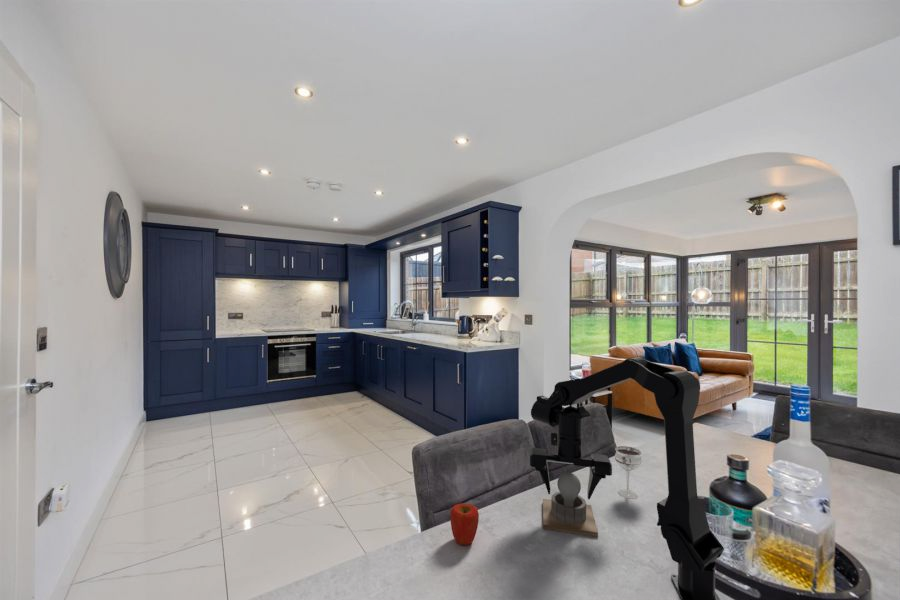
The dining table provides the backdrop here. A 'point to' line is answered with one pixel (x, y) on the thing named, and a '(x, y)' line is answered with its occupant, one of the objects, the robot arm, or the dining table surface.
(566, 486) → the light bulb
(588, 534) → the socket base
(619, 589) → the dining table surface
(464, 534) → the apple
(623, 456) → the wineglass
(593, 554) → the dining table surface
